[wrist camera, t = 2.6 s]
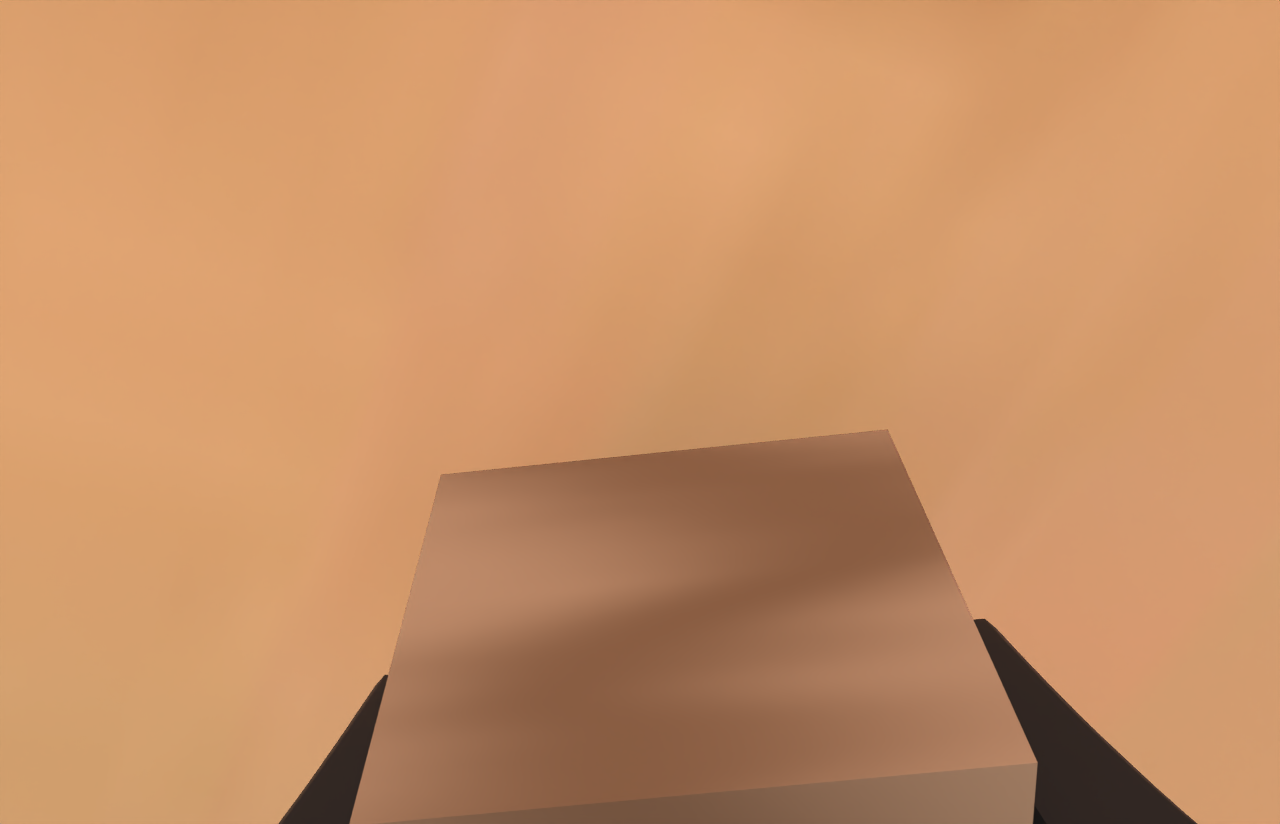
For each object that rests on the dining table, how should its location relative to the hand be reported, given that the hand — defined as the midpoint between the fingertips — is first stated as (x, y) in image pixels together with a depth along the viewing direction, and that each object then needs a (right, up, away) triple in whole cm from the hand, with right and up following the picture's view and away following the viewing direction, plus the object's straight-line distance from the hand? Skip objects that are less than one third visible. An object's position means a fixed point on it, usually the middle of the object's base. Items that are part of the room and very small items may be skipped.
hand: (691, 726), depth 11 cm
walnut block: (0, +1, +1) cm, 2 cm away
